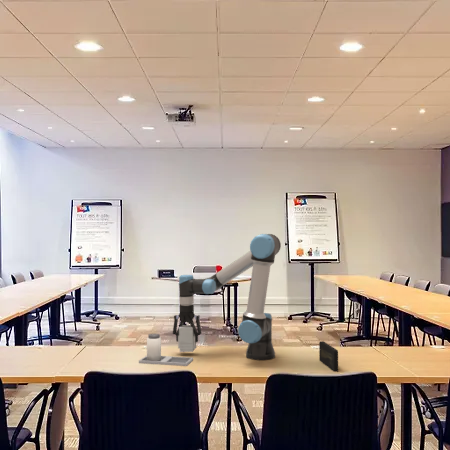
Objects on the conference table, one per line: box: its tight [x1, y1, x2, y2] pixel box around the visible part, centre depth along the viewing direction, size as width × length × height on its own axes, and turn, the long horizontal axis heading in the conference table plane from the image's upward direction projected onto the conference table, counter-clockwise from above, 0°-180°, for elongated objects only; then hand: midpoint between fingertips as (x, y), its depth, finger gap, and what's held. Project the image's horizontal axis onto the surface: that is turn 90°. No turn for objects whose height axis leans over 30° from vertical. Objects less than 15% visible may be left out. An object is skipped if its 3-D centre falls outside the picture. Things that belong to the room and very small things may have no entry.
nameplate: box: [318, 340, 339, 372], centre depth 249 cm, size 21×2×10 cm, turn 9°
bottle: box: [146, 333, 162, 361], centre depth 254 cm, size 7×7×13 cm
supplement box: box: [178, 324, 196, 353], centre depth 267 cm, size 7×7×13 cm
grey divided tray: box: [138, 355, 194, 367], centre depth 252 cm, size 24×11×2 cm, turn 77°
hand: (187, 348), depth 267 cm, fingers closed on supplement box, 8 cm apart
